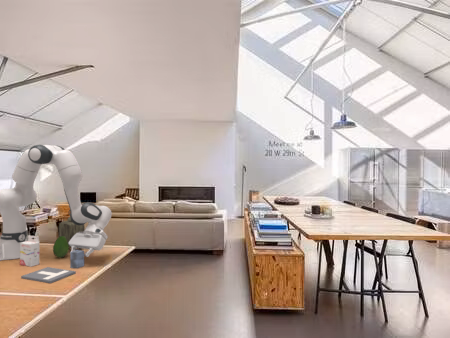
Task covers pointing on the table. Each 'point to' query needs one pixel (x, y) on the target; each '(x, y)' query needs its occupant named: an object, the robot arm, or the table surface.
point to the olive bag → (69, 229)
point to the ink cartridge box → (30, 251)
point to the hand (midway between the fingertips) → (78, 255)
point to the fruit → (60, 247)
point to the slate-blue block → (77, 259)
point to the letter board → (48, 275)
